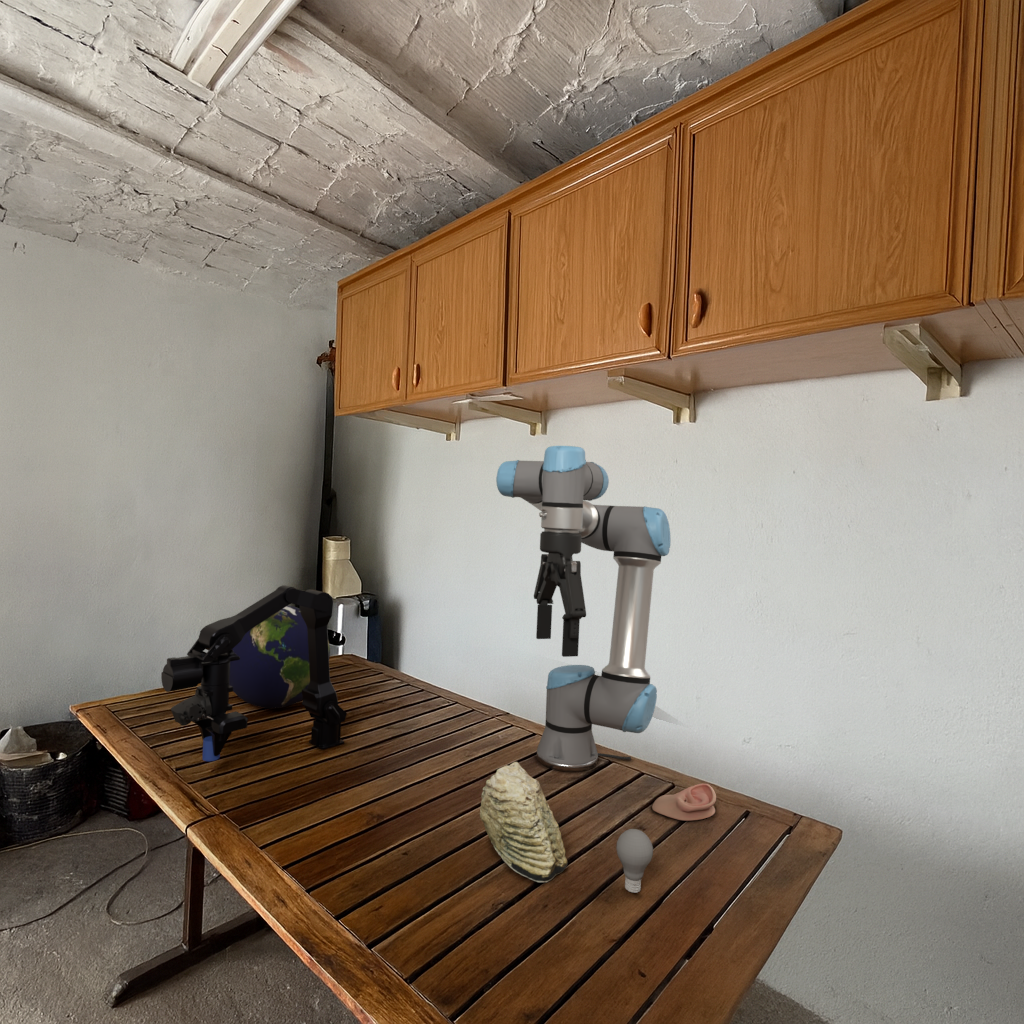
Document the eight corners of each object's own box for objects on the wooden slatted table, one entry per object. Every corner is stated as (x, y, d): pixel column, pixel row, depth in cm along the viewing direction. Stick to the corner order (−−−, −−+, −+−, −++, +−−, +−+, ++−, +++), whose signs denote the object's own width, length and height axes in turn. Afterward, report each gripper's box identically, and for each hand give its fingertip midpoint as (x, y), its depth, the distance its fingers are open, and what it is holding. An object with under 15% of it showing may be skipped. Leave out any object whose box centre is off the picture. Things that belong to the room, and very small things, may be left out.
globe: (289, 685, 209) (292, 594, 208) (348, 705, 191) (352, 606, 191) (199, 706, 185) (203, 604, 184) (258, 732, 167) (262, 619, 167)
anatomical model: (653, 797, 131) (652, 774, 142) (652, 816, 131) (651, 792, 142) (720, 806, 128) (714, 782, 140) (719, 826, 128) (713, 800, 140)
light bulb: (610, 879, 108) (613, 822, 108) (644, 879, 109) (647, 822, 109) (619, 902, 102) (622, 840, 102) (655, 901, 103) (658, 840, 103)
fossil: (501, 827, 124) (504, 751, 124) (575, 868, 111) (578, 784, 111) (467, 843, 118) (470, 763, 118) (541, 889, 105) (545, 799, 105)
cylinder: (199, 760, 138) (199, 740, 138) (207, 754, 141) (208, 735, 141) (214, 761, 138) (215, 742, 138) (222, 755, 141) (223, 736, 141)
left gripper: (158, 680, 139) (155, 750, 139) (197, 700, 127) (194, 777, 128) (209, 671, 148) (206, 737, 148) (250, 689, 136) (247, 761, 136)
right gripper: (520, 526, 126) (516, 632, 127) (567, 535, 102) (561, 665, 103) (556, 527, 129) (551, 631, 129) (609, 536, 105) (603, 663, 105)
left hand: (212, 752), depth 140 cm, fingers closed on cylinder, 3 cm apart
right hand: (555, 647), depth 116 cm, fingers open, 13 cm apart
